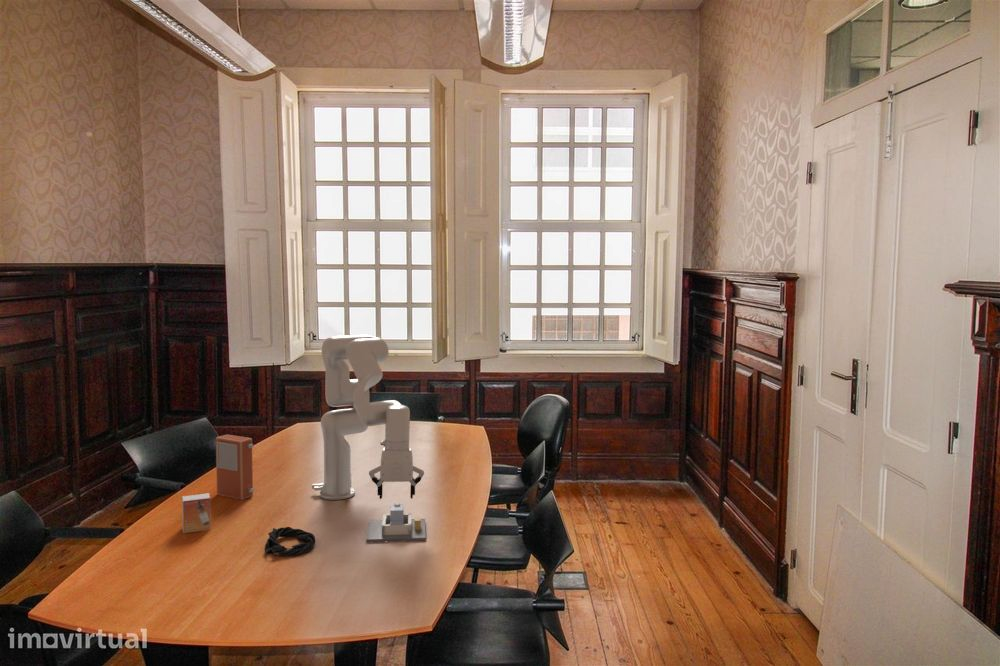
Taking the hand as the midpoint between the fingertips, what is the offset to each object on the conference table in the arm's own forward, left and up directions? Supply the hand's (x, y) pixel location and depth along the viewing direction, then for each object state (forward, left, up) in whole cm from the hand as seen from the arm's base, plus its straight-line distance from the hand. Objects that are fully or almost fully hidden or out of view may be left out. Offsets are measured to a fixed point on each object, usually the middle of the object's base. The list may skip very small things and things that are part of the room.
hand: (396, 497), depth 209 cm
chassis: (0, 0, -11) cm, 11 cm away
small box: (-63, +7, -11) cm, 64 cm away
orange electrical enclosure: (-60, +39, -11) cm, 72 cm away
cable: (-31, -8, -12) cm, 34 cm away
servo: (0, 0, -10) cm, 10 cm away
